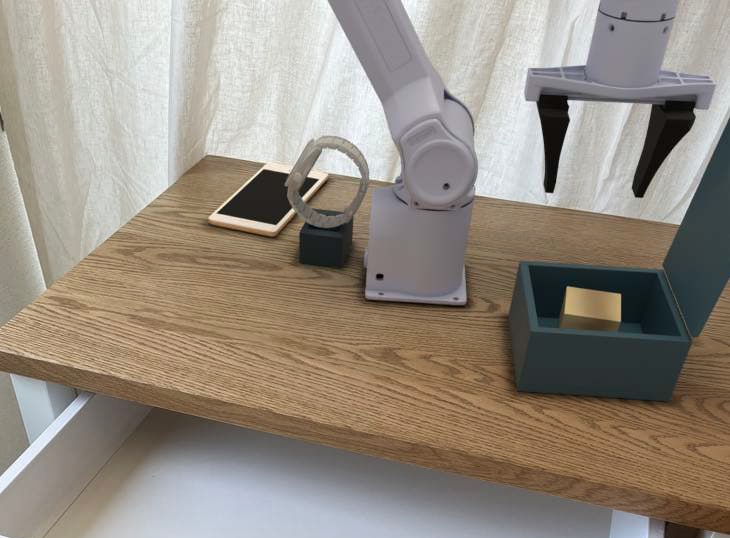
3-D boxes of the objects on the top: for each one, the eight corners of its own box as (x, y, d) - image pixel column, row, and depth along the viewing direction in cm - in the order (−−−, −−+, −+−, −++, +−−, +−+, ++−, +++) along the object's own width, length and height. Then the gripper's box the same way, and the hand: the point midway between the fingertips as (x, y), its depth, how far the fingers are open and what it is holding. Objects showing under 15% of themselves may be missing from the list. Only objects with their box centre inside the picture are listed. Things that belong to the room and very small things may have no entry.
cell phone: (329, 178, 96) (329, 172, 96) (274, 237, 86) (274, 232, 85) (267, 167, 98) (267, 161, 98) (207, 224, 87) (206, 218, 87)
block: (552, 360, 70) (564, 313, 67) (555, 332, 73) (567, 286, 70) (606, 368, 70) (621, 321, 66) (606, 340, 73) (621, 293, 69)
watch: (293, 235, 86) (292, 124, 79) (369, 244, 85) (376, 133, 77) (280, 260, 83) (277, 147, 75) (358, 270, 82) (365, 156, 74)
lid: (780, 163, 54) (789, 165, 54) (735, 102, 62) (743, 103, 62) (690, 337, 63) (698, 338, 63) (661, 264, 71) (668, 265, 71)
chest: (516, 391, 68) (530, 331, 64) (507, 317, 76) (519, 260, 72) (668, 401, 68) (692, 341, 64) (643, 326, 76) (663, 269, 71)
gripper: (722, 1, 65) (668, 176, 75) (535, -6, 66) (506, 167, 76) (744, 27, 60) (684, 210, 70) (543, 19, 61) (511, 201, 71)
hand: (592, 190), depth 72 cm, fingers open, 7 cm apart
